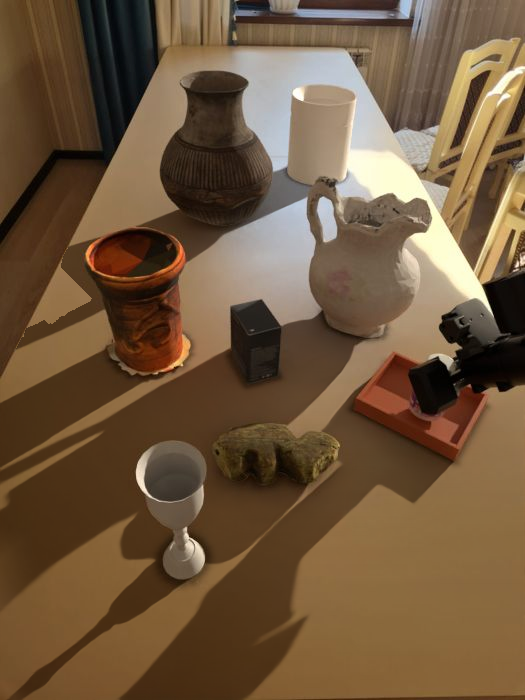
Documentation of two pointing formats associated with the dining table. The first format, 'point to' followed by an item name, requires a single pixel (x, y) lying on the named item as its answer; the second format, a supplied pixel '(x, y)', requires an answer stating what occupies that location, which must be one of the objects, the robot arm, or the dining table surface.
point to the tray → (393, 411)
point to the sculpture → (273, 453)
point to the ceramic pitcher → (364, 258)
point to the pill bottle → (413, 401)
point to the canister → (320, 132)
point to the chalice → (175, 500)
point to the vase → (215, 153)
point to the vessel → (141, 297)
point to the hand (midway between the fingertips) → (429, 372)
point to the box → (255, 341)
